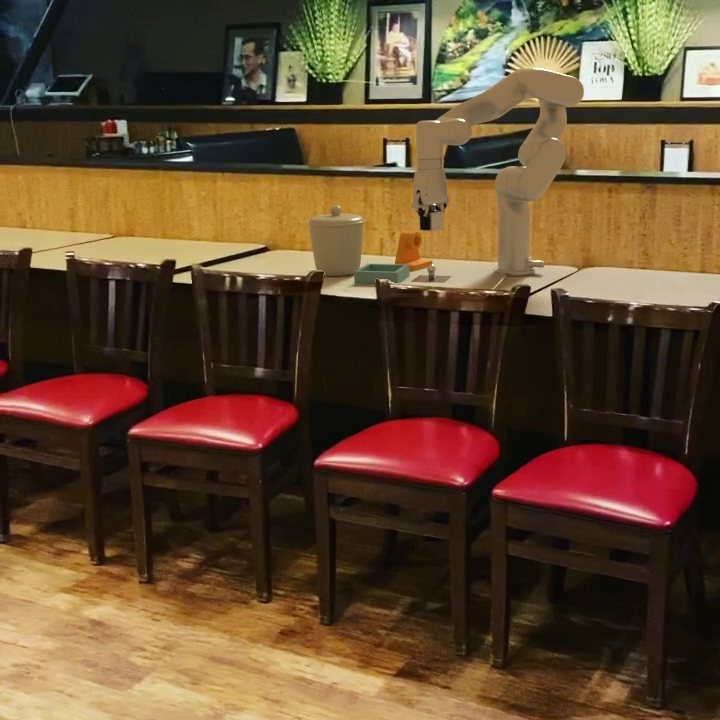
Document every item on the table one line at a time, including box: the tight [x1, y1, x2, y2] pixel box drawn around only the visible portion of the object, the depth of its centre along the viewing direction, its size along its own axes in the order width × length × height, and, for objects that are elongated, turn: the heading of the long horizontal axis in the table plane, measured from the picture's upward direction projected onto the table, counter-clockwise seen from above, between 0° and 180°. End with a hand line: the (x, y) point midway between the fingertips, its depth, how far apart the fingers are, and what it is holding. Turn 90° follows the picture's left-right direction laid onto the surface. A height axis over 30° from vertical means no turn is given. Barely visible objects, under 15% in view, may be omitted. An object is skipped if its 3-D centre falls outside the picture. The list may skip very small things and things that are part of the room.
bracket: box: [394, 230, 433, 272], centre depth 325 cm, size 11×7×12 cm, turn 142°
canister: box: [306, 205, 367, 277], centre depth 322 cm, size 18×18×21 cm
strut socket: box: [418, 205, 445, 233], centre depth 302 cm, size 5×5×8 cm
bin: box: [353, 263, 411, 285], centre depth 308 cm, size 13×13×4 cm
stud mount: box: [410, 264, 453, 284], centre depth 307 cm, size 10×10×5 cm
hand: (431, 228), depth 303 cm, fingers closed on strut socket, 5 cm apart
